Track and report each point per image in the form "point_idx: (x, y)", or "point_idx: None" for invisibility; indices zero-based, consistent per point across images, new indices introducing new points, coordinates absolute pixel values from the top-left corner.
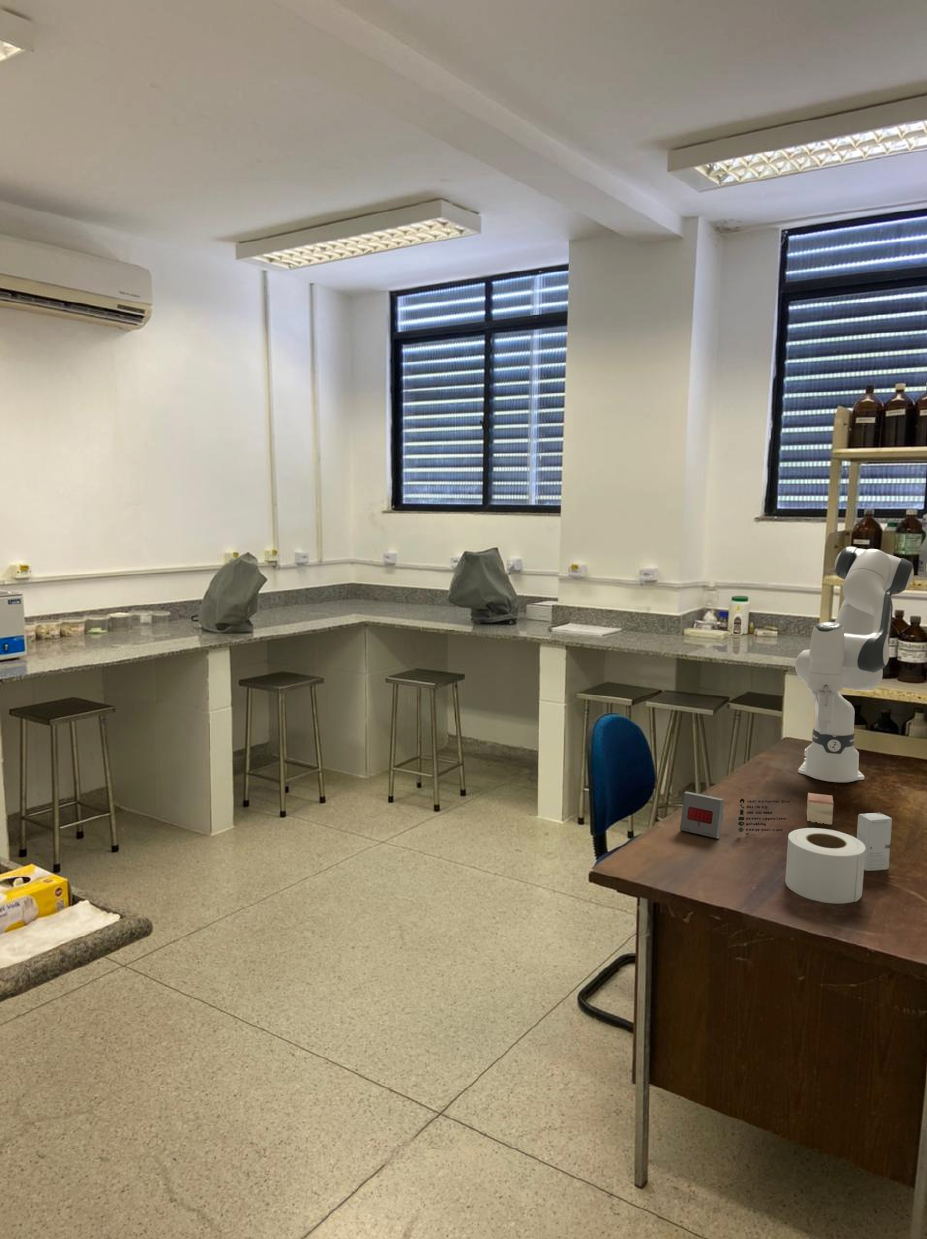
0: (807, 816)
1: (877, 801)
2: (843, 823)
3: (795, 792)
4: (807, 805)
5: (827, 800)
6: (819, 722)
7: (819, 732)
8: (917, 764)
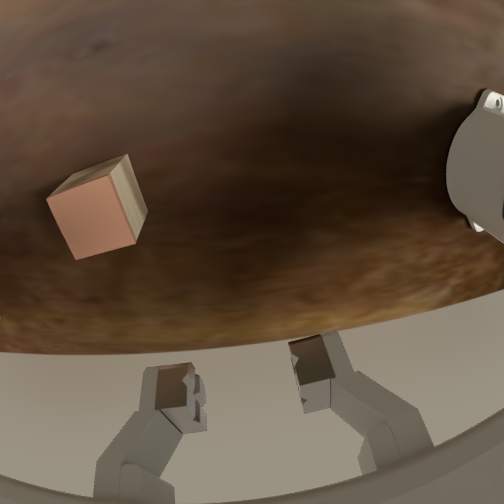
0: (75, 175)
1: (342, 274)
2: None
3: (324, 80)
4: (102, 168)
5: (80, 243)
6: (98, 460)
7: (145, 374)
8: None
